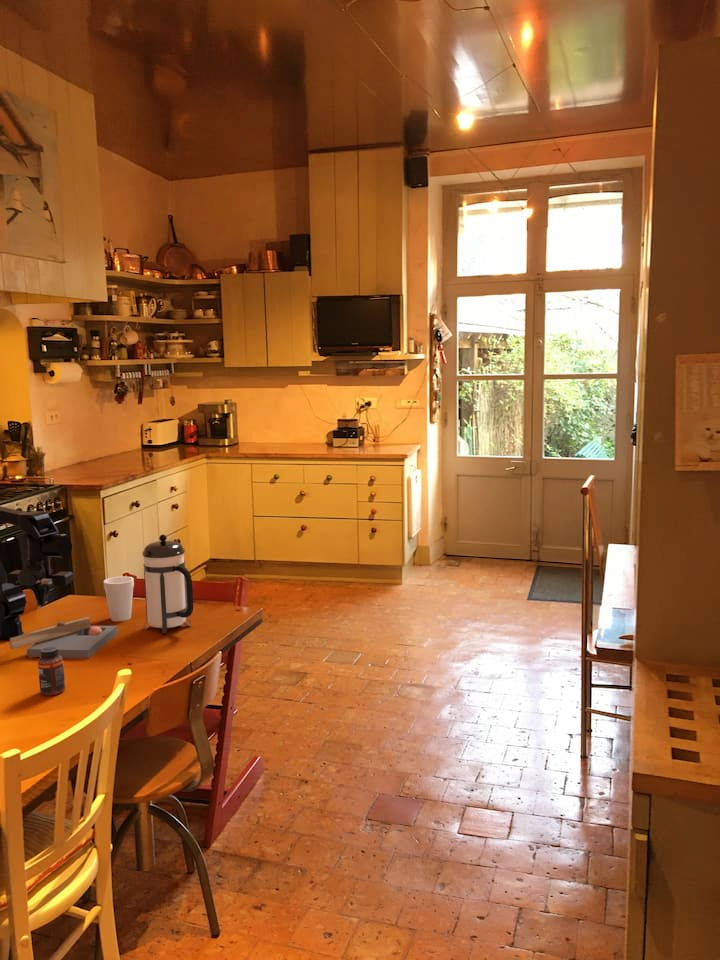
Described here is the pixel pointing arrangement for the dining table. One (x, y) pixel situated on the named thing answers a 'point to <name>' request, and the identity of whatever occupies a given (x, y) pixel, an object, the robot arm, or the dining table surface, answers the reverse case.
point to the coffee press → (167, 585)
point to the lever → (49, 632)
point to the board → (76, 643)
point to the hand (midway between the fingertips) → (42, 605)
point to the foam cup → (119, 597)
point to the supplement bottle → (51, 672)
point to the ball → (94, 631)
